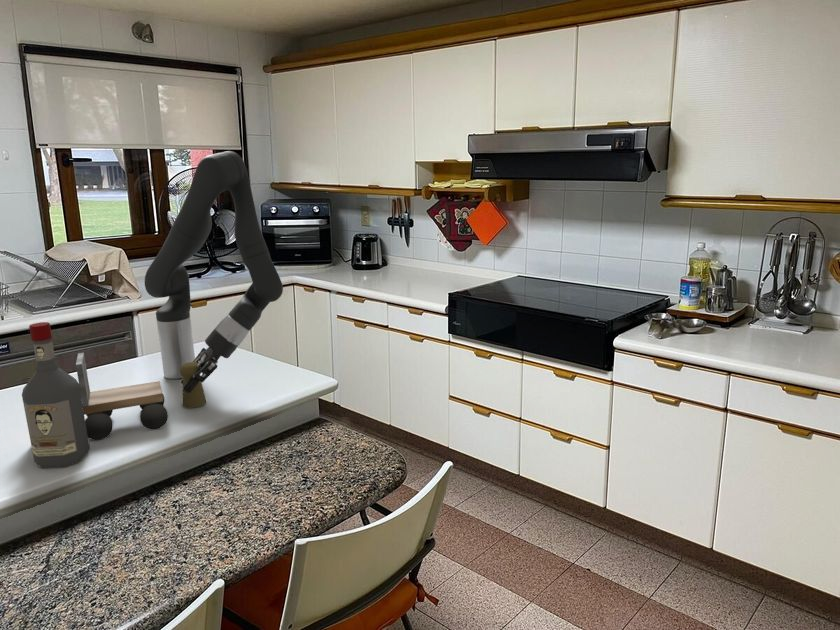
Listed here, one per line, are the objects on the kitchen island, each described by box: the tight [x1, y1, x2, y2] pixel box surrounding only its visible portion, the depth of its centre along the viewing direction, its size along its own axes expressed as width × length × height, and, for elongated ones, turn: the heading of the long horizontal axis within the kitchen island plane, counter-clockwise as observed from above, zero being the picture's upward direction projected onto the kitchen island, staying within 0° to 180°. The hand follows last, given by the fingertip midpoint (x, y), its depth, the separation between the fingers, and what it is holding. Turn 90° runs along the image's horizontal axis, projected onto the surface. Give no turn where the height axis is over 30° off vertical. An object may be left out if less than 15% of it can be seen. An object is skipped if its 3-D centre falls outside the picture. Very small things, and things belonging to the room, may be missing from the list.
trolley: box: [75, 352, 169, 441], centre depth 154 cm, size 14×18×18 cm
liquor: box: [21, 321, 91, 469], centre depth 135 cm, size 9×9×30 cm
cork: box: [180, 362, 208, 409], centre depth 166 cm, size 6×6×11 cm
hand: (184, 387), depth 166 cm, fingers closed on cork, 4 cm apart
